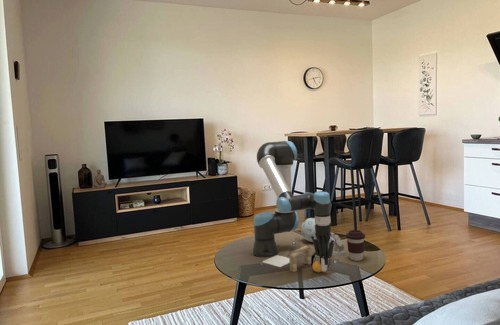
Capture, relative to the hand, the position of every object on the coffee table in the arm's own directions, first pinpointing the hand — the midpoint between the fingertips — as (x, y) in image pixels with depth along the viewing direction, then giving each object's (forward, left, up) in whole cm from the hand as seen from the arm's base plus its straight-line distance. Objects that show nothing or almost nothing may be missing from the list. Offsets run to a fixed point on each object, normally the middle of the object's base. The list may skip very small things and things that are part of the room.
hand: (324, 270), depth 183 cm
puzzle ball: (-33, +39, -2) cm, 51 cm away
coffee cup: (+3, +27, -2) cm, 27 cm away
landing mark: (-29, 0, -1) cm, 29 cm away
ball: (-3, 0, +1) cm, 4 cm away
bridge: (-14, 0, -1) cm, 14 cm away
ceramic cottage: (-13, +30, -2) cm, 33 cm away
